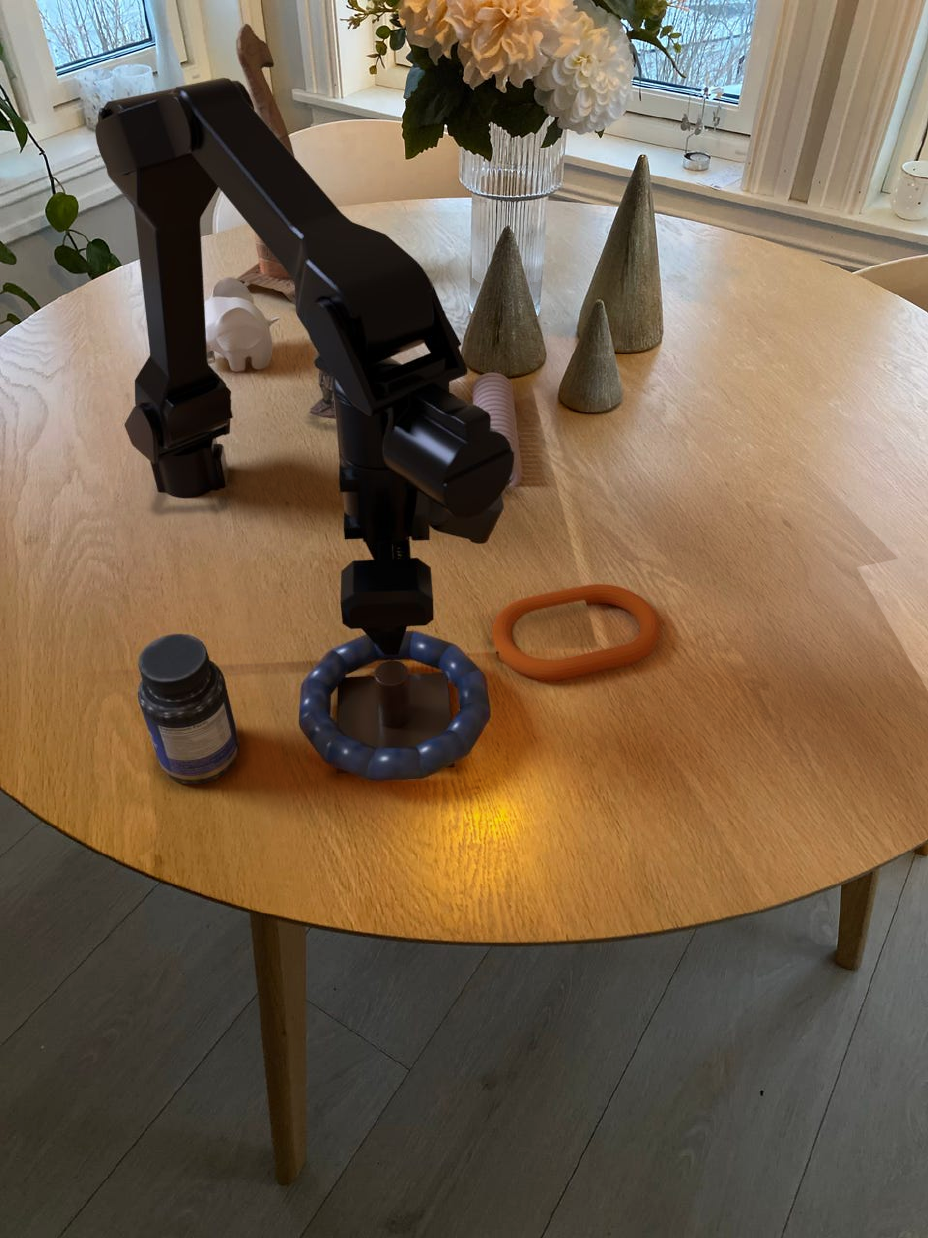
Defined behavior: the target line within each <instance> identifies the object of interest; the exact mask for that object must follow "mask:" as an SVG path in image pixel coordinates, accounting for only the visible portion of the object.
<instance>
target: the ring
mask: <svg viewBox="0 0 928 1238" xmlns="http://www.w3.org/2000/svg"><path fill="white" fill-rule="evenodd" d="M390 660H394V661H406V660H410V661H414V662H417V663H419V664H422V665H425V666H428V667H431V668H432V669H436V670H439V671H440V672H443V673H444V675H445V676H446V677H447V678H448V681H450V682H451V683H452V684H453V686H454V687H455V688H456V689H457V698H458V707H459V710H458V711H457V712H456V714H455V716H454V717H453V719H452V722H451V724H450V725H449V727H448V728H447V730H446V731H445V732H443V733H441V734H439V735H437V736H435V737H433V738H431V739H429V740H427V741H425V742H423V743H421V744H419V745H418V746H416V747H397V748H378V749H377V748H375V747H372V746H370V745H367V744H365V743H362V742H360V741H357V740H354V739H352V738H349V737H347V736H345V734H344V733H343V732H342V730H341V729H340V728H339V727H338V725H337V722H336V721H335V720H334V719H333V717H332V715H331V711H332V709H331V708H332V694H333V693H334V692H335V691H336V689H338V685H339V684H340V683H341V682H342V680H343V679H344V678H345V677H347V675H349V674H352V673H353V672H355V671H358V670H360V669H362V668H365V667H367V666H368V665H370V664H373V663H376V662H385V661H390ZM299 693H300V694H299V710H298V726H299V729H300V731H301V732H302V733H303V735H304V737H305V738H306V739H307V740H308V742H309V743H310V744H311V746H312V748H313V749H314V750H315V751H316V753H317V754H318V755H319V757H320V758H321V759H322V760H323V762H324V763H325V764H327V765H330V766H332V767H333V768H335V769H336V768H339V769H341V770H344V771H346V772H349V773H348V774H352V775H353V776H357V777H359V778H361V779H363V780H366V781H368V782H376V783H377V782H378V783H379V782H393V781H394V782H397V781H409V780H410V781H412V780H413V781H414V780H423V779H427V778H428V777H430V776H432V775H434V774H437V773H438V772H440V771H442V770H444V769H446V768H445V767H447V766H449V765H451V764H453V763H455V764H456V763H457V762H458V761H461V760H462V759H464V758H466V757H468V756H469V754H470V753H471V752H472V750H473V748H474V747H475V745H476V743H477V742H478V740H479V738H480V737H481V735H482V734H483V732H484V730H485V728H486V727H487V725H488V723H489V721H490V720H491V717H492V710H491V702H490V696H489V687H488V680H487V676H486V674H485V673H484V671H482V669H481V667H479V666H478V665H477V664H476V663H475V662H474V661H473V660H472V659H471V658H470V657H469V656H468V655H467V654H466V653H465V651H463V650H462V648H461V647H459V646H458V645H457V644H455V643H453V642H449V641H447V640H444V639H441V638H438V637H435V636H432V635H429V634H428V633H427V634H426V633H424V632H420V631H418V630H406V632H405V635H404V638H403V641H402V645H401V648H400V651H399V654H397V655H384V654H383V653H382V651H381V650H380V649H379V648H378V647H377V646H376V645H375V643H374V642H373V641H372V640H371V639H370V638H369V636H368V635H367V634H366V633H364V634H363V635H360V636H358V637H356V638H353V639H351V640H348V641H347V642H345V643H342V644H340V645H338V646H335V647H334V648H331V649H330V650H328V651H326V653H325V654H324V655H323V656H322V657H321V658H320V660H319V661H318V663H316V665H315V666H314V667H313V668H312V669H311V671H310V672H309V673H308V674H307V676H306V677H305V678H304V679H303V681H302V682H301V685H300V692H299Z"/></svg>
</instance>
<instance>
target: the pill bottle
mask: <svg viewBox="0 0 928 1238" xmlns="http://www.w3.org/2000/svg"><path fill="white" fill-rule="evenodd" d="M207 649H208V648H207V647H206V645H205V643H203V641H202V640H201V639H199V638H198V637H196V636H194V635H190V634H186V633H185V634H184V633H172V634H167V635H164V636H161V637H159V638H157V639H154V640H153V641H151V642H149V643H148V644H147V645H145V647H144V648H143V650H142V651H141V652H140V655H139V657H138V663H137V664H138V670H139V672H140V677H141V680H140V681H139V684H138V688H137V701H138V703H139V706H140V709H141V712H142V715H143V718H144V722H145V725H146V727H147V730H148V733H149V736H150V739H151V742H152V746H153V748H154V752H155V754H156V757H157V760H158V763H159V766H160V768H161V770H162V771H163V772H164V773H166V775H167V777H168V778H169V779H171V780H172V781H174V782H176V783H179V784H183V785H202V784H207V783H210V782H213V781H216V780H217V779H218V778H221V777H222V776H223V775H225V774H226V773H227V772H228V771H230V769H231V768H232V767H233V766H234V764H235V763H236V760H237V758H238V755H239V751H240V740H239V736H238V731H237V727H236V723H235V718H234V713H233V710H232V706H231V701H230V697H229V696H230V695H229V692H228V689H227V688H228V687H227V683H226V679H225V676H224V673H223V672H222V670H221V668H219V666H218V665H217V664H216V663H215V662H214V661H212V660H210V656H209V654H208V650H207Z"/></svg>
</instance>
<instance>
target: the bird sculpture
mask: <svg viewBox="0 0 928 1238" xmlns="http://www.w3.org/2000/svg"><path fill="white" fill-rule="evenodd" d="M235 51H236V56H237V60H238V63H239V64H240V67H241V70H242V72H243V76H244V80H245V83H246V85H247V88H248V89H247V90H248V93H249V95H250V97H251V100H252V102H253V105H254V110H255V112H256V113H257V114H258V115H259V116H260V117H261V119H262V120H263V121H264V122H265V123H266V124H267V126H268V127H269V128H270V129H271V130H272V132H273V133H274V134H275V135H276V136H277V137H278V139H279V140H280V141H281V142H282V143H283V145H284V146H285V147H286V148H287V149H288V150H289V152H290V153H291V154H292V155H293V156H294V157H295V158H296V156H295V153H294V150H293V146H292V145H293V144H292V142H291V138H290V135H289V133H288V130H287V127H286V124H285V122H284V119H283V117H282V114H281V111H280V109H279V107H278V104H277V103H276V100H275V97H274V95H273V92H272V91H271V88H270V86H269V84H268V81H267V79H266V77H265V74H264V71H263V68H273V67H274V65H275V63H274V59H273V55H272V53H271V50H270V48H269V46H268V44H267V42H265V41H264V40H262V39H260V37H259V36H257V35H256V33H255V31H254V29H253V28H252V26H251V25H250V24H248V23H243V25H242V26H241V27H240V29H238V31H237V37H236V40H235ZM253 234H254V235H253V236H254V240H255V247H256V252H257V256H258V257H257V259H258V262H257V264H255V265H254V266H252V267H251V268H249V269H248V270H246V271H245V272H243V273H242V274H241V275H239V276H238V277H237V278H235V279H237V280H239V281H240V282H241V283H243V284H244V285H245V283H249V284H253V285H256V286H259V287H263V288H267V289H273V290H274V291H277V292H281V293H283V294H284V295H285V296H286V297H287V299H289V300H290V301H291V302H292V303H293V304H294V306H296V302H295V285H294V282H293V281H292V279H291V278H290V276H289V274H288V273H287V271H286V270H285V268H284V267H283V266H282V265H281V263H280V262H279V261H278V260H277V258H276V257H275V256H274V255H273V254H272V252H271V251H270V250H269V249H268V247H267V246H266V245H265V244H264V242H263V241H262V240H261V239H260V238H259V236H258V235H257V234H256V233H255V231H254V230H253Z"/></svg>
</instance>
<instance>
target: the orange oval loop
mask: <svg viewBox="0 0 928 1238" xmlns="http://www.w3.org/2000/svg"><path fill="white" fill-rule="evenodd" d="M583 600H585V605H591V604H607V605H613V606H616V607H619V608H621V609H623V610H625V611H626V612H628V613H630V614H631V615H632V616H633V617H634V618H635V619H636V621H637V623H638V625H639V632H638V635H637V636H636V638H635V639H633V640H631V641H630V642H628V643H624V644H621V645H618V646H613V647H609V648H605V649H599V650H596V651H591V652H586V653H582V654H578V655H573V656H569V657H568V656H567V657H564V658H563V657H562V658H559V659H543V658H537V657H534V656H531V655H529V654H527V653H525V652H523V651H522V650H520V649H519V648H518V647H517V646H516V644H515V643H514V642H513V639H512V636H511V635H512V634H511V632H512V631H511V630H512V627H513V624H514V623H515V622H516V620H517V619H518V618H519V617H521V616H522V615H524V614H526V613H529V612H532V611H536V610H540V609H546V608H549V607H554V606H558V605H563V604H568V603H574V602H577V601H583ZM660 631H661V629H660V621H659V618H658V615H657V613H656V612H655V609H653V607H652V606H651V605H650V604H649V602H648V601H647V600H645V599H644V598H643V597H642V596H640V595H639V594H637V593H635V592H634V591H632V590H629V589H627V588H625V587H621V586H618V585H612V584H607V583H606V584H605V583H595V584H594V583H593V584H586V585H581V586H576V587H570V588H566V589H561V590H556V591H550V592H547V593H542V594H537V595H532V596H528V597H524V598H521V599H518V600H515V601H513V602H512V603H510V604H508V605H507V606H506V607H504V608H503V609H502V610H501V611H500V612H499V613H498V615H497V616H496V617H495V619H494V622H493V625H492V628H491V637H492V642H493V645H494V646H495V648H496V651H495V654H496V655H497V657H498V658H499V659H500V661H502V663H503V664H504V665H506V666H507V667H508V668H510V669H511V670H512V671H514V672H516V673H517V674H520V675H522V676H525V677H527V678H531V679H534V680H538V681H539V680H540V681H561V680H566V679H571V678H576V677H581V676H584V675H588V674H594V673H599V672H602V671H606V670H611V669H616V668H619V667H623V666H627V665H631V664H634V663H636V662H638V661H640V660H642V659H644V658H645V657H647V656H648V655H649V654H651V652H652V651H653V649H654V648H655V647H656V645H657V643H658V641H659V638H660V634H661V633H660Z"/></svg>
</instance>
